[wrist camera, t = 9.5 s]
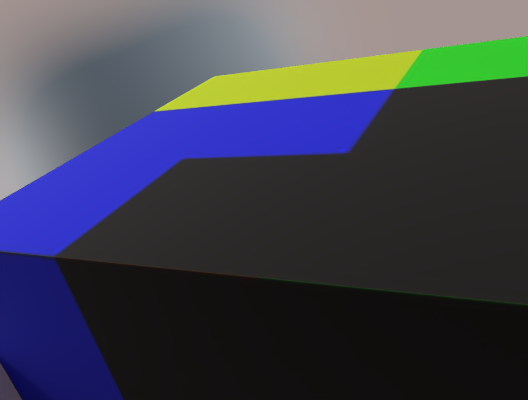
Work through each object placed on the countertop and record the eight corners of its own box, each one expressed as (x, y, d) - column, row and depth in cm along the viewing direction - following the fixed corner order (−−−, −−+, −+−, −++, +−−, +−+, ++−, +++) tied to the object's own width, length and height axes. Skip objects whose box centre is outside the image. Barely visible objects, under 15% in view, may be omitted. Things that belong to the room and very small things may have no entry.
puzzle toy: (122, 564, 13) (-75, 243, 9) (277, 312, 21) (214, 76, 16) (572, 786, 8) (632, 314, 4) (556, 351, 16) (570, 30, 12)
